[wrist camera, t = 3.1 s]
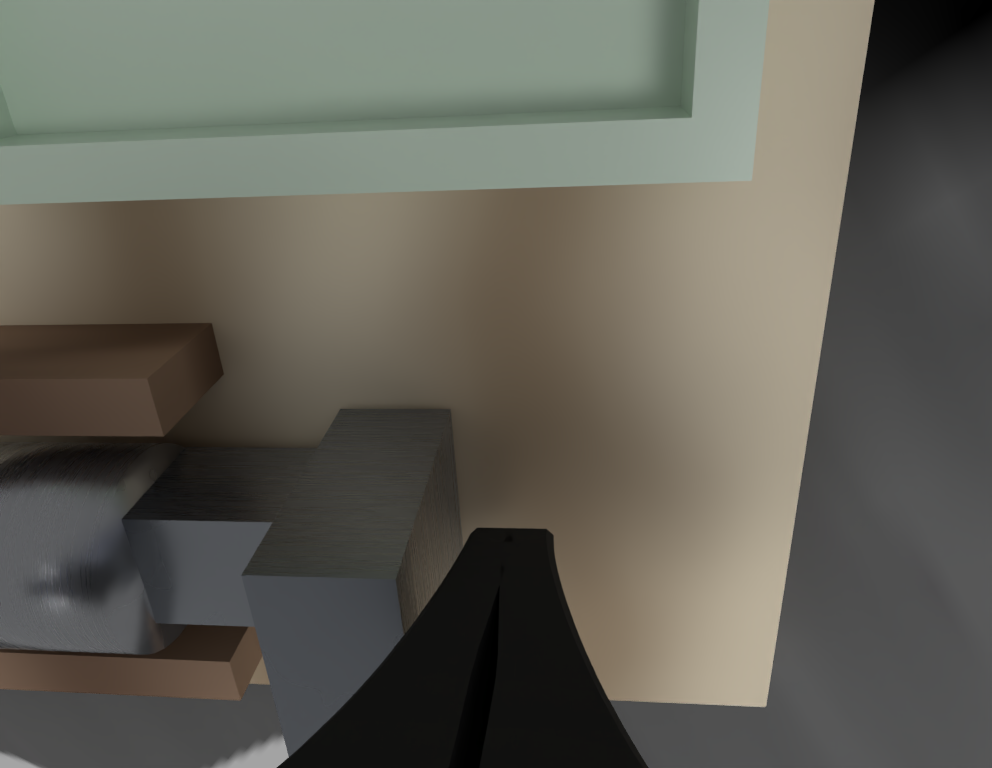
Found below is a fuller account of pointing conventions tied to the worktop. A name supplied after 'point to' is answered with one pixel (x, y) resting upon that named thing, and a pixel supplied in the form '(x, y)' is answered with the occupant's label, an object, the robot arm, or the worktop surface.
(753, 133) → the tray
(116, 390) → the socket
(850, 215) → the worktop surface
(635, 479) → the board
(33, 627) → the grey cylinder
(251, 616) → the grey stepped block
